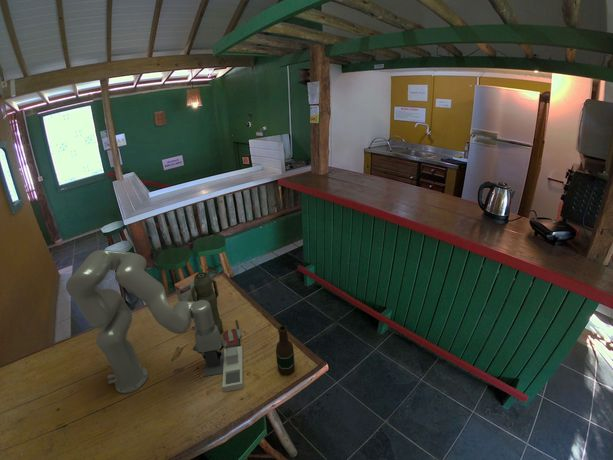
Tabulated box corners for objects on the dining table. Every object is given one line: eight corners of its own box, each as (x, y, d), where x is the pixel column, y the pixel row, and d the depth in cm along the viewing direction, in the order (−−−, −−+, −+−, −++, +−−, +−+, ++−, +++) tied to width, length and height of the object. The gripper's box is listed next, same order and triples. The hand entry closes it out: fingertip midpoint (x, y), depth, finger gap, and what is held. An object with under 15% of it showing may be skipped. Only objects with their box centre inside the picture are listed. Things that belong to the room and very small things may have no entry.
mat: (204, 377, 135) (204, 376, 135) (206, 355, 146) (206, 354, 145) (223, 373, 136) (223, 372, 136) (224, 352, 147) (224, 351, 147)
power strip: (223, 391, 129) (220, 378, 125) (225, 353, 146) (222, 341, 142) (243, 388, 130) (240, 375, 126) (242, 350, 147) (240, 338, 144)
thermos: (229, 329, 160) (217, 272, 144) (209, 343, 152) (195, 285, 136) (218, 321, 165) (206, 266, 149) (199, 335, 157) (184, 277, 141)
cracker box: (188, 320, 167) (179, 288, 157) (182, 315, 170) (173, 283, 161) (210, 306, 176) (203, 275, 167) (204, 301, 180) (197, 271, 170)
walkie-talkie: (245, 349, 148) (238, 321, 165) (244, 342, 146) (237, 315, 163) (226, 355, 146) (221, 326, 162) (225, 348, 144) (220, 319, 160)
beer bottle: (275, 365, 139) (270, 324, 128) (291, 359, 142) (288, 318, 131) (281, 379, 133) (276, 337, 122) (298, 372, 135) (295, 331, 124)
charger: (207, 365, 137) (203, 352, 134) (208, 356, 142) (205, 343, 138) (219, 363, 138) (215, 350, 134) (219, 354, 142) (216, 341, 139)
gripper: (183, 337, 126) (192, 368, 135) (226, 330, 129) (232, 361, 137) (185, 324, 133) (194, 354, 141) (226, 317, 135) (232, 348, 144)
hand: (213, 357), depth 139 cm, fingers closed on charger, 4 cm apart
